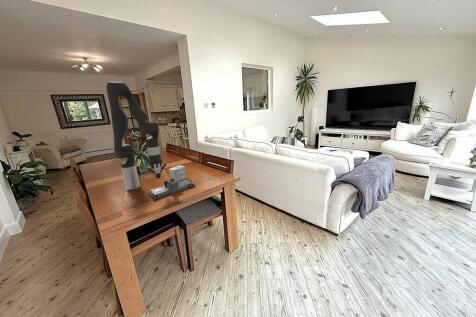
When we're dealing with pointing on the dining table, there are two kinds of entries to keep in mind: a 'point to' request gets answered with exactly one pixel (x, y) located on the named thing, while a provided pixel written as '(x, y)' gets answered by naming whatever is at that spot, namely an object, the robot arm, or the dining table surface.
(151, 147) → the robot arm
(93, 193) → the dining table surface
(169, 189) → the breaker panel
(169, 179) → the breaker lever
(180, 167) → the light bulb box
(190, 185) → the cord bundle far
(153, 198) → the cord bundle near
